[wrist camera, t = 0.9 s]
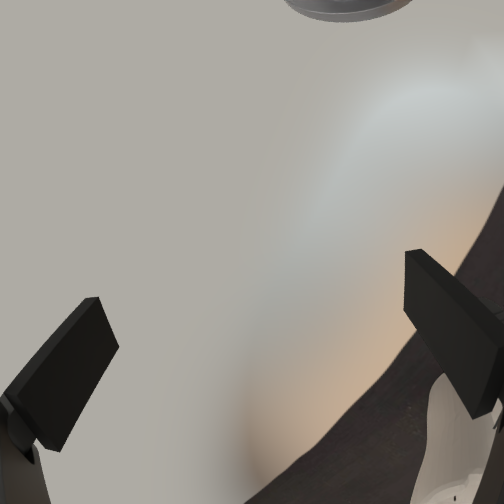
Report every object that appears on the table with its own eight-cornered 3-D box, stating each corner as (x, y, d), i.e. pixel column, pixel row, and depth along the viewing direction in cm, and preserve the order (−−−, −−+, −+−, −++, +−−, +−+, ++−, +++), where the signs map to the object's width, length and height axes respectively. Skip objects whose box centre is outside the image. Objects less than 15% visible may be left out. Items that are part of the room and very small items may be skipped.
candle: (471, 462, 26) (460, 589, 9) (417, 392, 30) (382, 520, 13) (519, 430, 23) (541, 553, 6) (467, 353, 27) (486, 470, 10)
